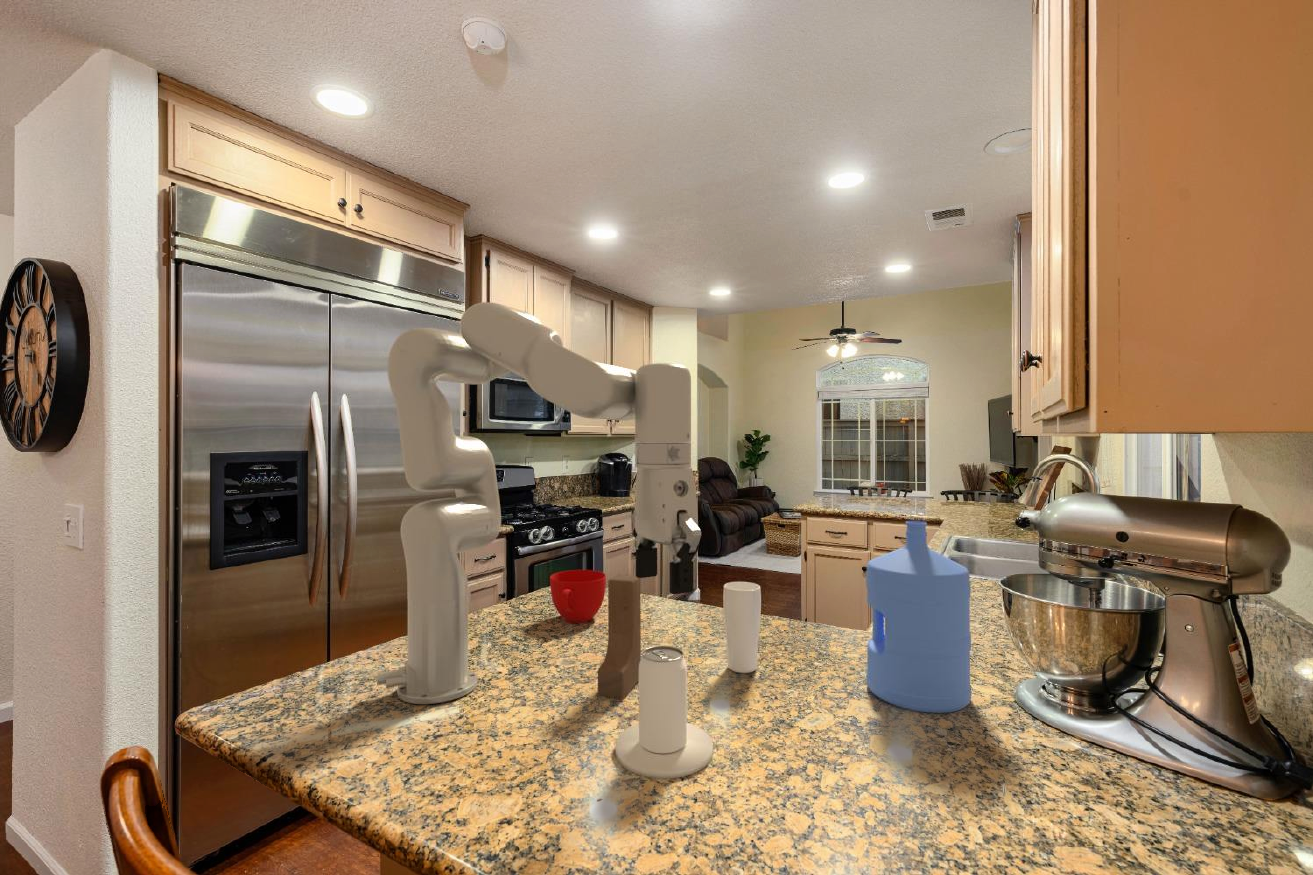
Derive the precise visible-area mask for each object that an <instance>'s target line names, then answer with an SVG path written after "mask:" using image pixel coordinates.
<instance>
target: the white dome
mask: <svg viewBox="0 0 1313 875" xmlns="http://www.w3.org/2000/svg"><path fill="white" fill-rule="evenodd" d="M713 755H714V744H713V740H712V738H711V735H709V733H708V732H707V731H706V730H704V729H702V728H701V727H699V726H697V725H695V724H692V723H689V722H687V743H686V745H685V746H684V747H683V748H682V749H681V750H680V751H678V752H675V753H672V754H666V755H661V754H654V753H651V752H648V751H646V750H645V749H644V748H643V747H642V746H641V745H640V743H639V722H638V723H636V724H634V725H631V726H629V727H627V728H626V729H624V730H623V731H621V733H619V735H618V736H617V738H616V741H615V757H616V760H617V761H618V763H619V764H620V765H621V766H622V767H623V768H625V769H626V770H628V771H629V772H631V773H634V774H636V775H639V776H643V777H646V778H653V779H677V778H682V777H686V776H687V777H688V776H689V775H690V776H691V775H692V774H693V775H694V774H695V773H697V772H699V771H701V770H703V769H705V768H706V767H707V766H708V765H709V763H710V762H711V761H712V759H713Z"/></svg>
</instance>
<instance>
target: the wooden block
mask: <svg viewBox="0 0 1313 875" xmlns="http://www.w3.org/2000/svg"><path fill="white" fill-rule="evenodd" d="M607 582H608V583H607V587H608V588H607V589H608V590H607V592H608V594H607V596H608V597H607V600H608V601H607V604H608V605H607V606H608V608H607V609H608V610H607V612H608V614H607V616H608V617H607V618H608V619H607V621H608V622H607V624H608V625H607V626H608V627H607V628H608V629H607V630H608V631H607V632H608V633H607V634H608V637H607V648H606V653H605V657H604V661H602V663H601V664H600V665H599V668H598V669H597V697H600V698H601V697H602V698H609V699H615V700H624V698H626V696H627V695H628V694H629V693H630V692H631V690H632V689H633V688H634V687H635V686H636V685H637V683H639V663H640V660H641V658H642V651H641V648H642V644H641V641H642V639H641V637H642V636H641V633H642V632H641V631H642V630H641V616H642V615H641V604H642V603H641V578H637V577H636V574H635V575H633V574H632V575H631V574H620V573H619V574H616V575H614V576H612V577H611V578H609V579H608V580H607Z"/></svg>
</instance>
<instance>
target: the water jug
mask: <svg viewBox="0 0 1313 875" xmlns="http://www.w3.org/2000/svg"><path fill="white" fill-rule="evenodd" d="M905 525H906V531H905V536H906V537H905V538H906V539H905V540H906V541H905V545H903V547H900V548H898V549H895V550H893V551H890V552H888V553H887V552H886V553H885V554H882V555H880V556H878V557H874V558H872V559H870V560H869V561H868V562H867V564H866V573H865V585H866V586H865V587H866V603H867V604H868V606H870V607H871V609H872V637H871V638H870V639H869V640H868V642H867V645H866V649H867V651H866V652H867V657H866V659H867V662H866V663H867V666H866V667H867V668H866V672H865V673H866V675H865V676H866V684H867V687H868V689H869V690H870V692H871V693H872V694H873V695H875V696H876V697H877V698H879V699H880V700H882V701H884V702H886V703H888V704H890V705H893V706H896V707H898V708H901V709H906V710H910V711H915V712H920V713H927V714H928V713H929V714H930V713H931V714H946V713H954V712H957V711H959V710H962V709H964V708H966V707H967V706H968V705H969V704H970V702H971V701H972V684H971V649H972V648H971V647H972V636H971V629H970V628H971V622H970V621H971V620H970V619H971V615H970V613H971V610H970V605H971V602H970V601H971V600H970V599H971V593H972V590H971V587H972V586H971V581H970V571H969V568H967V567H965V566H964V565H962V564H960V563H958V562H956V561H955V560H952V559H950V558H948V557H946V556H944V555H942V554H940V553H939V552H936V551H934V550H932V549H931V548H930V547H929V546H928V544H927V537H928V532H927V528H926V527H927V525H928V523H927V522H926V521H922V520H906V521H905Z"/></svg>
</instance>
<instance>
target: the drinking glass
mask: <svg viewBox="0 0 1313 875" xmlns="http://www.w3.org/2000/svg"><path fill="white" fill-rule="evenodd" d="M722 596H723V597H722V600H723V601H722V602H723V603H722V604H723V620H724V629H725V641H726V652H727V656H726V657H727V658H726V660H727V667H728V668H729V670H731V671H733V672H734V673H739V674H748V673H752V672H754V671H756V670H757V668H758V652H759V651H758V650H759V649H758V648H759V638H760V625H761V624H760V623H761V613H762V593H761V586H760V585H759V584H757V583H755V582H750V581H749V582H748V581H730V582H727V583H725V584H723V595H722Z"/></svg>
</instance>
